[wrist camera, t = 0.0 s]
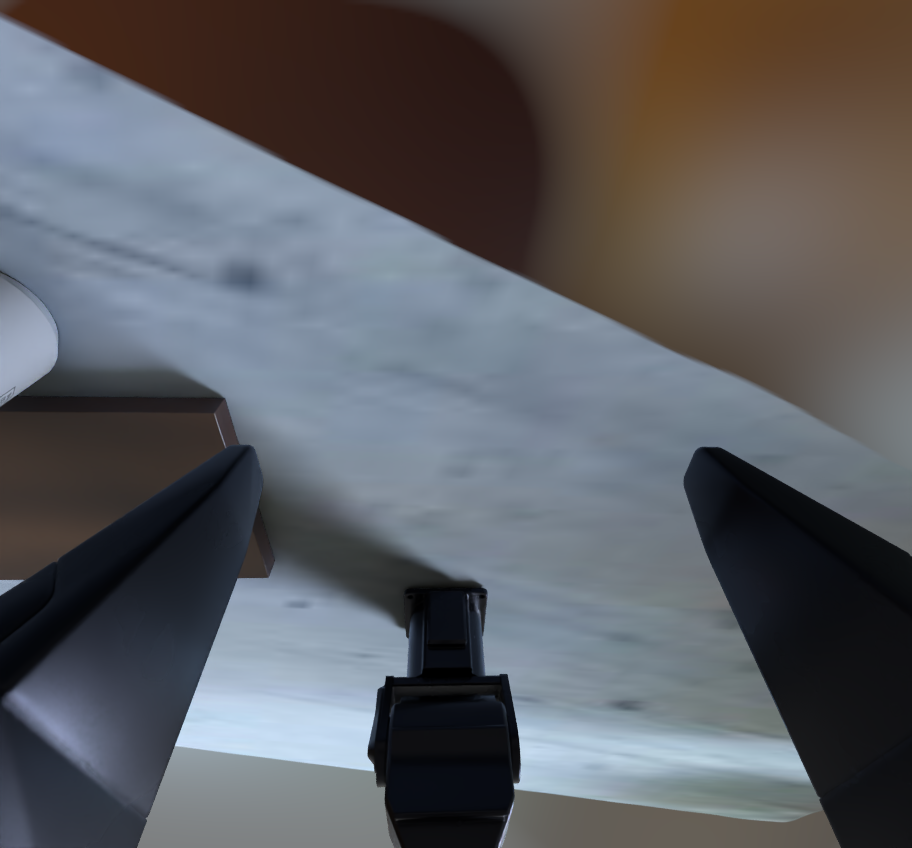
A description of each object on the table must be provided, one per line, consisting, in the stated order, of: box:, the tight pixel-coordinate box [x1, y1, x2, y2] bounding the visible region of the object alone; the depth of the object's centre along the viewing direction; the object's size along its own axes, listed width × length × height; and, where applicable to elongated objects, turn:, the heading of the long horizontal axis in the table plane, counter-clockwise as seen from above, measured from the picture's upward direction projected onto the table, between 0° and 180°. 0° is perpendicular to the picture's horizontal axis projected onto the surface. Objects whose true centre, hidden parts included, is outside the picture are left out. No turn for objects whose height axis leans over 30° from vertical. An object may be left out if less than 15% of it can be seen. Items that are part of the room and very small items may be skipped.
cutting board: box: [0, 396, 275, 580], centre depth 28 cm, size 14×20×2 cm
